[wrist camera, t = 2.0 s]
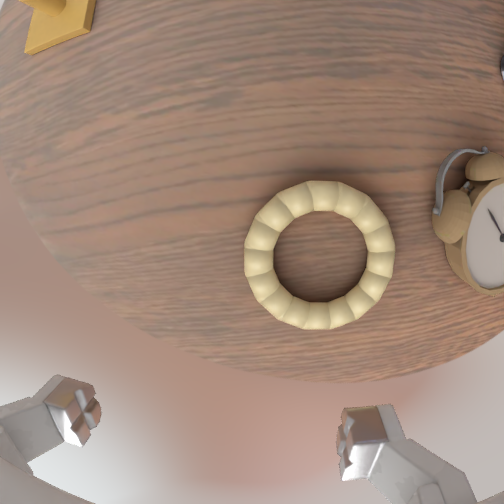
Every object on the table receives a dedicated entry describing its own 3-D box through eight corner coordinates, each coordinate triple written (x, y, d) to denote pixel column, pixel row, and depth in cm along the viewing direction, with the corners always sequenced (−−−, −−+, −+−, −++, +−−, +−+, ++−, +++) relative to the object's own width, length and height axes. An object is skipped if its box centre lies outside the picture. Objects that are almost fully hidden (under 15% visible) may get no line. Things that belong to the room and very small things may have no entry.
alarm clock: (489, 317, 24) (426, 215, 20) (464, 295, 28) (396, 199, 24) (549, 238, 21) (501, 119, 17) (520, 223, 26) (466, 116, 21)
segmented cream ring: (393, 184, 25) (403, 185, 22) (380, 320, 28) (387, 332, 26) (245, 179, 26) (241, 180, 23) (246, 320, 29) (243, 332, 27)
